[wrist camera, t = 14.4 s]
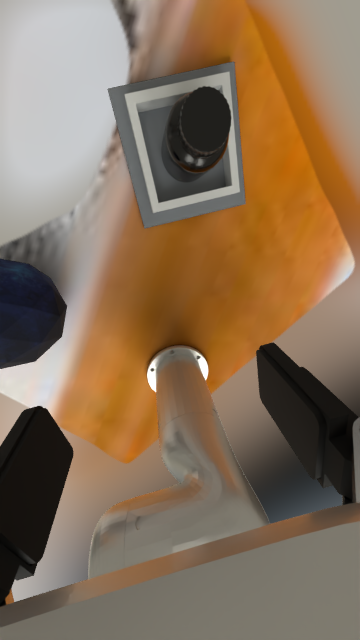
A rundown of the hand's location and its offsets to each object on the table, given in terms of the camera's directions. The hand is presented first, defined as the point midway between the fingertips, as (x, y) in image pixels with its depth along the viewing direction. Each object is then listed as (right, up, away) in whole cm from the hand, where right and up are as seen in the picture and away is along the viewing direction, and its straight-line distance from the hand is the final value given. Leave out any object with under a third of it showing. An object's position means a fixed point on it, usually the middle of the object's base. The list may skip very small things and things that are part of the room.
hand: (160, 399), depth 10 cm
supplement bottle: (+2, +26, +21) cm, 34 cm away
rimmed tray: (+1, +27, +22) cm, 35 cm away
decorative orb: (-24, +7, +27) cm, 36 cm away
